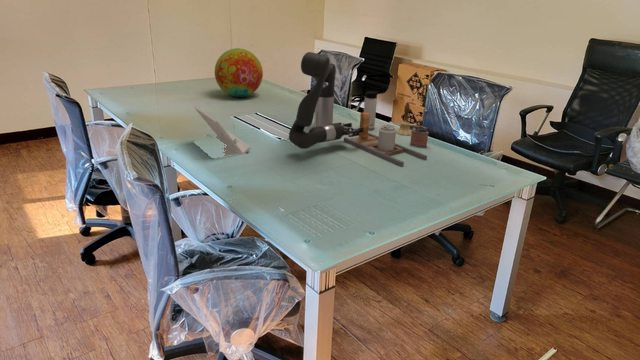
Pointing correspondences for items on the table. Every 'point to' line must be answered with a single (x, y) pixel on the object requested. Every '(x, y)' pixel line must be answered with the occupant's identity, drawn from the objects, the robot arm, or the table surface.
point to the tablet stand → (225, 136)
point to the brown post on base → (370, 140)
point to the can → (386, 138)
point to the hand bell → (405, 123)
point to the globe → (238, 72)
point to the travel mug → (371, 107)
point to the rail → (382, 155)
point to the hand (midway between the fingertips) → (357, 127)
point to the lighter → (419, 137)
